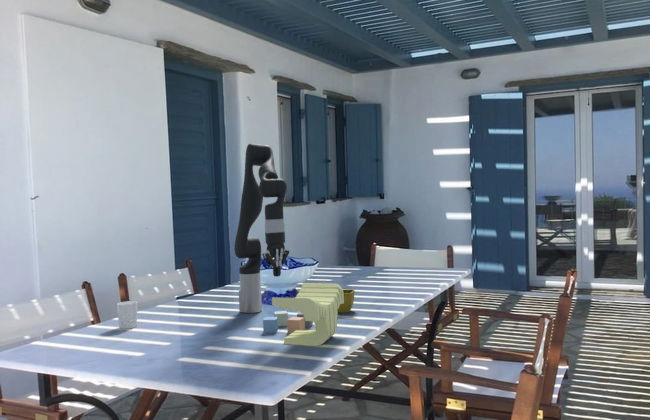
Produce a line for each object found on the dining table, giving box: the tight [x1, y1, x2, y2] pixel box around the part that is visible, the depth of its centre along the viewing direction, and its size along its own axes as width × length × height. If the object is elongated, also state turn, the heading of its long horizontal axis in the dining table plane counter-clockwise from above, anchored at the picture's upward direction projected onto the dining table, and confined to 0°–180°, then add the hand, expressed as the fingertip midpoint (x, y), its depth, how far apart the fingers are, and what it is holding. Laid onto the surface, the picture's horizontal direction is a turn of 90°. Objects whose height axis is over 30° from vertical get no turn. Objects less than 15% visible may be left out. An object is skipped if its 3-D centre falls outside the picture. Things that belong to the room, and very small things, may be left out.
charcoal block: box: [296, 311, 314, 328], centre depth 234 cm, size 5×5×5 cm
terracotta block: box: [286, 316, 306, 334], centre depth 224 cm, size 5×5×5 cm
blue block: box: [262, 316, 279, 334], centre depth 226 cm, size 5×5×5 cm
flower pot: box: [337, 288, 355, 314], centre depth 257 cm, size 9×9×9 cm
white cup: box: [116, 300, 138, 330], centre depth 243 cm, size 8×8×10 cm
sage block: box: [273, 310, 289, 327], centre depth 237 cm, size 5×5×5 cm
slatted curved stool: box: [271, 282, 344, 346], centre depth 211 cm, size 30×16×18 cm, turn 162°
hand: (277, 276), depth 228 cm, fingers closed
